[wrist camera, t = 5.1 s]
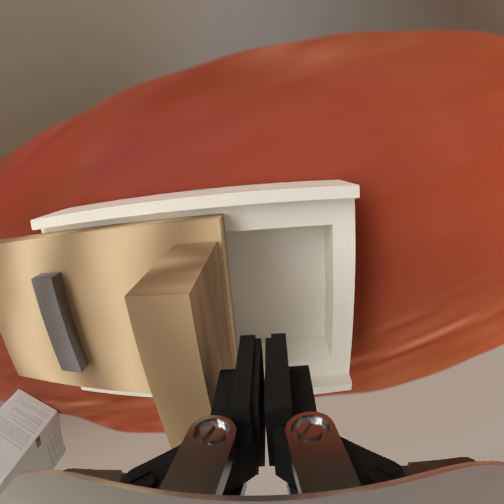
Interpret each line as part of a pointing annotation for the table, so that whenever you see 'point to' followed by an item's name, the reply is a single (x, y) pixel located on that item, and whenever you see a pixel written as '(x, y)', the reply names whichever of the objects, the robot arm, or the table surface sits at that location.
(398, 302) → the table surface
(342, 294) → the box
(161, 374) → the lid
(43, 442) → the skincare box
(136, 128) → the table surface
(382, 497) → the robot arm
